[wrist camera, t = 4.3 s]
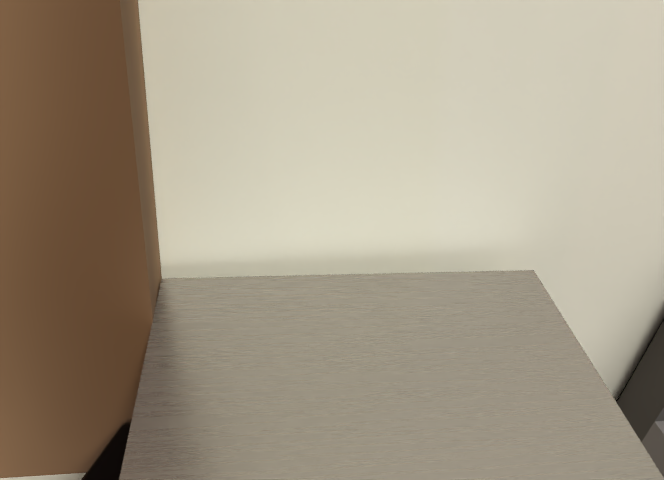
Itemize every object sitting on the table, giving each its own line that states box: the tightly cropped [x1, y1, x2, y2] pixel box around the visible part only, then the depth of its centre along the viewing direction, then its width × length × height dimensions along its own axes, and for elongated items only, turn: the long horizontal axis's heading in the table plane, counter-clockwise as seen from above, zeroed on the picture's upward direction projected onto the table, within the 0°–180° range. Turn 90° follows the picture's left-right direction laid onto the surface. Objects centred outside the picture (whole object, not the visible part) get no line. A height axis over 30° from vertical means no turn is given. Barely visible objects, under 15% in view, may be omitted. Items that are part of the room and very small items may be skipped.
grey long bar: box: [617, 321, 664, 478], centre depth 13 cm, size 2×9×2 cm, turn 175°
